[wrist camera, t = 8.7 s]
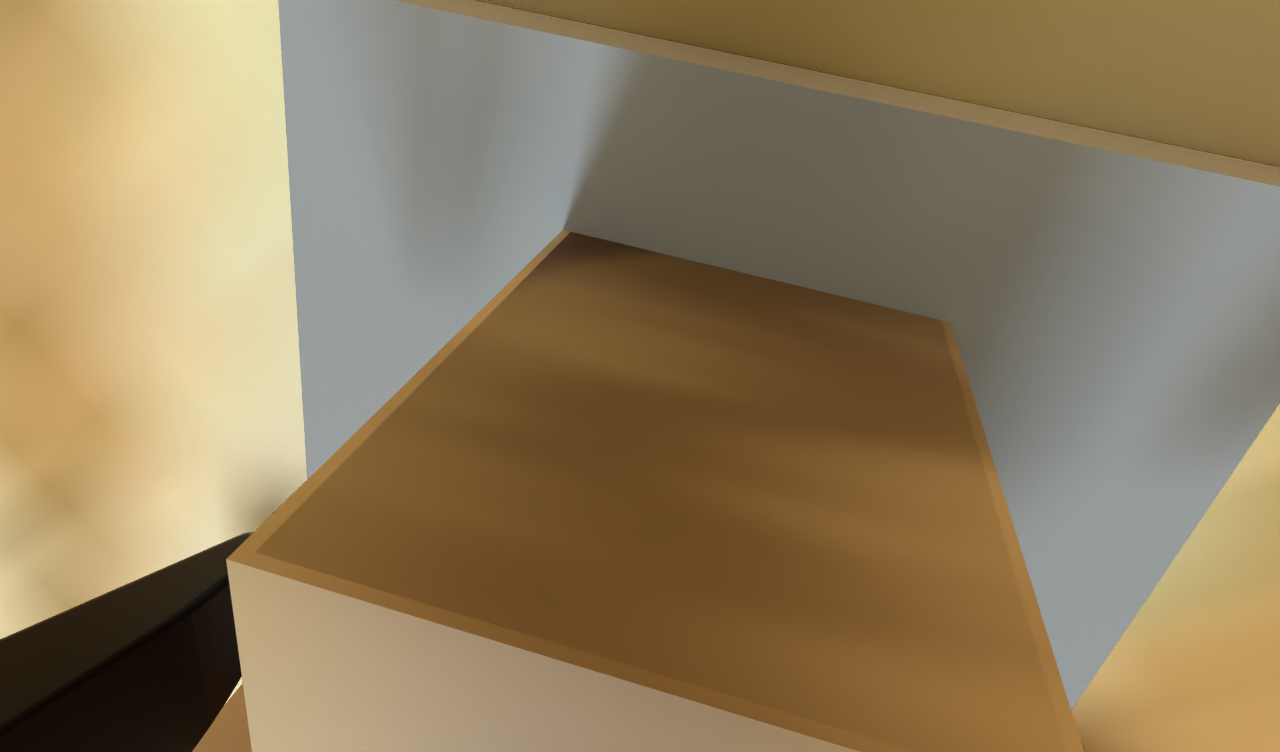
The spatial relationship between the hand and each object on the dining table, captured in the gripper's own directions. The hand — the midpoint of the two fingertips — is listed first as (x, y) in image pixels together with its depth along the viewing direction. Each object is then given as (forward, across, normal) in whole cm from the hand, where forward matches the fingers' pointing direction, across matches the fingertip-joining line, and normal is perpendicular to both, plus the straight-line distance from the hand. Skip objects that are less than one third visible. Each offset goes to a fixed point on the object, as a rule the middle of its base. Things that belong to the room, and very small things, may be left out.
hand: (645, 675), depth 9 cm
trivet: (+4, 0, 0) cm, 4 cm away
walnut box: (+3, 0, 0) cm, 3 cm away
